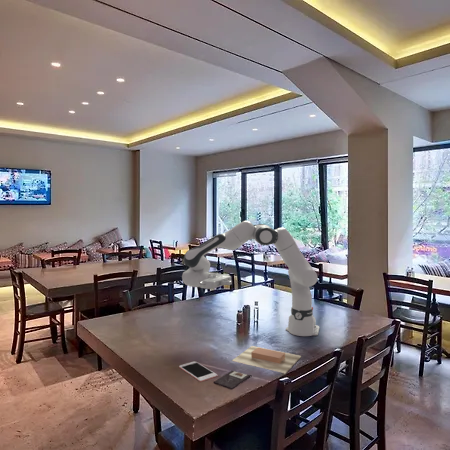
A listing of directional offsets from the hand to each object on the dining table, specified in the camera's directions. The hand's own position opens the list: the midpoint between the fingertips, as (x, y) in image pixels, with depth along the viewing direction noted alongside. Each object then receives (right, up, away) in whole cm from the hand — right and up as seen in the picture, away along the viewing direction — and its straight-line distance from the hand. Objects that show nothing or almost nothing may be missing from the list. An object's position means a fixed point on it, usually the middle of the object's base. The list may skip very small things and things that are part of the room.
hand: (230, 283), depth 191 cm
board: (+17, -33, -20) cm, 42 cm away
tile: (+11, -30, -17) cm, 37 cm away
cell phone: (-15, -34, -33) cm, 49 cm away
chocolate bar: (+1, -34, -39) cm, 52 cm away
